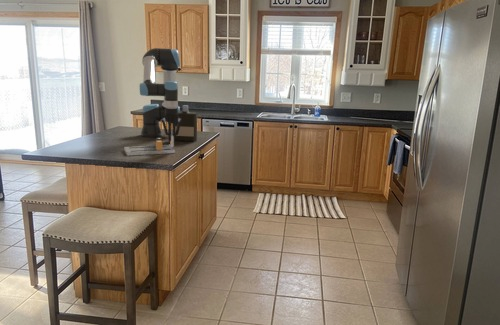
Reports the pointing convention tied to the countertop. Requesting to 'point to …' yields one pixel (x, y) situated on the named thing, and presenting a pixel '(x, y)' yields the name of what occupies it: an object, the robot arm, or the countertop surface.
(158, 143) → the orange fader
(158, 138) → the black fader
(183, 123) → the bottle
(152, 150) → the panel
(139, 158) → the countertop surface
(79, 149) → the countertop surface
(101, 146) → the countertop surface
